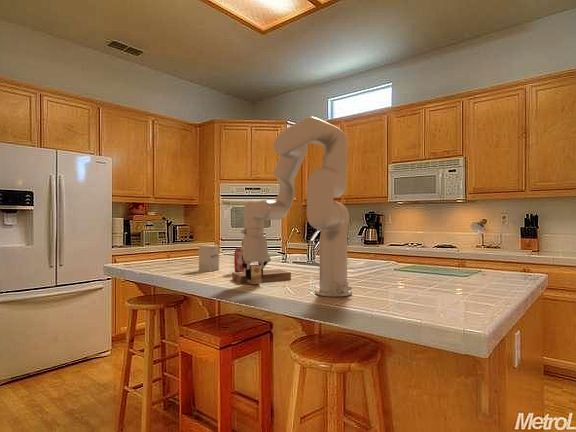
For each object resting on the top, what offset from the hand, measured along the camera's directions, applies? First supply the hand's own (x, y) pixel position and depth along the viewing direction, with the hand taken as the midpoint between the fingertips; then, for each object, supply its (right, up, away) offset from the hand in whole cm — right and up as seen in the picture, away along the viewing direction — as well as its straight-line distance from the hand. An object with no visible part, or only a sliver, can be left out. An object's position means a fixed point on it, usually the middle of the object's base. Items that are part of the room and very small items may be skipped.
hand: (254, 278), depth 147 cm
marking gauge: (-1, -2, +3) cm, 4 cm away
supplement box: (-27, -3, +40) cm, 48 cm away
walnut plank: (+2, -2, +11) cm, 11 cm away
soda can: (-9, -3, +31) cm, 32 cm away
